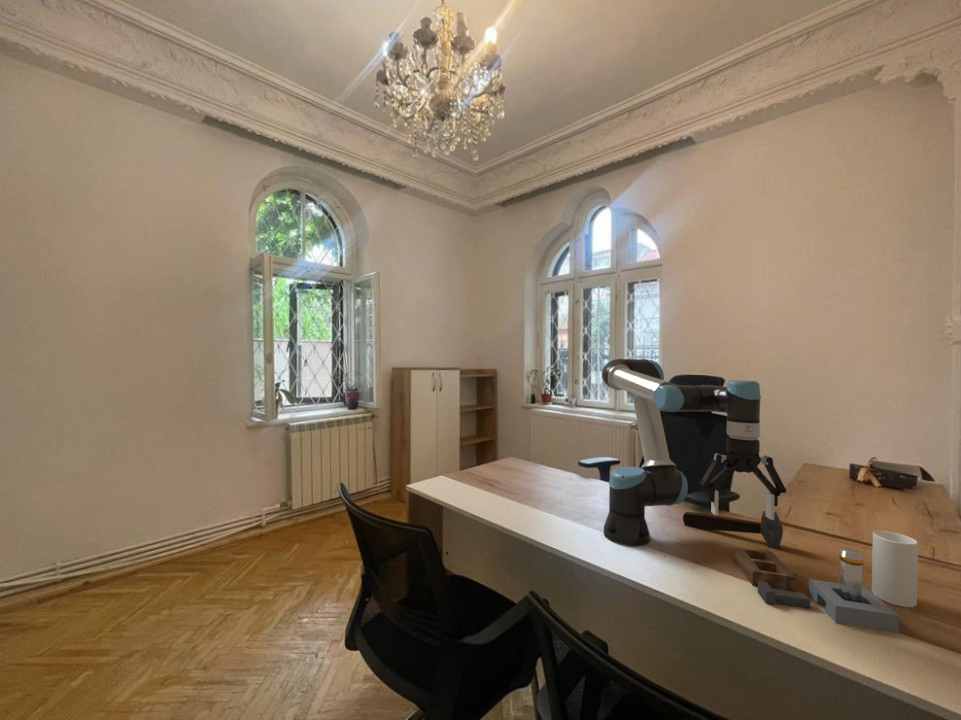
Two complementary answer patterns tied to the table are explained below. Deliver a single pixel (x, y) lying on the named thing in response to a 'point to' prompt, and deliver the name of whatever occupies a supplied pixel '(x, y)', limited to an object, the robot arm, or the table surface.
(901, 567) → the cup
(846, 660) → the table surface
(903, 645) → the table surface
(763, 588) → the dark grey t-shaped block
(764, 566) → the rack
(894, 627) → the socket block
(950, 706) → the table surface
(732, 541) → the table surface
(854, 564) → the rod
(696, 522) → the hammer
